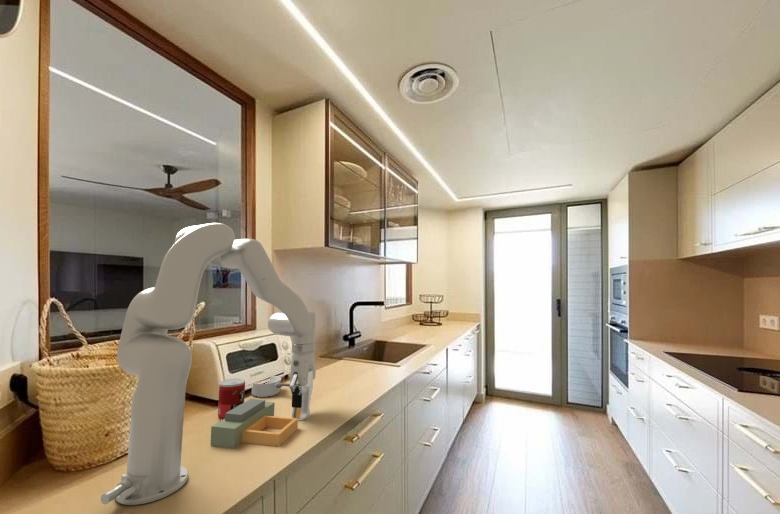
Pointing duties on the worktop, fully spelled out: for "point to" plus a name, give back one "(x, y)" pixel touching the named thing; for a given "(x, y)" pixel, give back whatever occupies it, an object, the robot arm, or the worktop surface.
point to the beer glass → (304, 400)
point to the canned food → (230, 395)
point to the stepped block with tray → (252, 426)
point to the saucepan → (268, 387)
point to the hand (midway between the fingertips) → (301, 403)
